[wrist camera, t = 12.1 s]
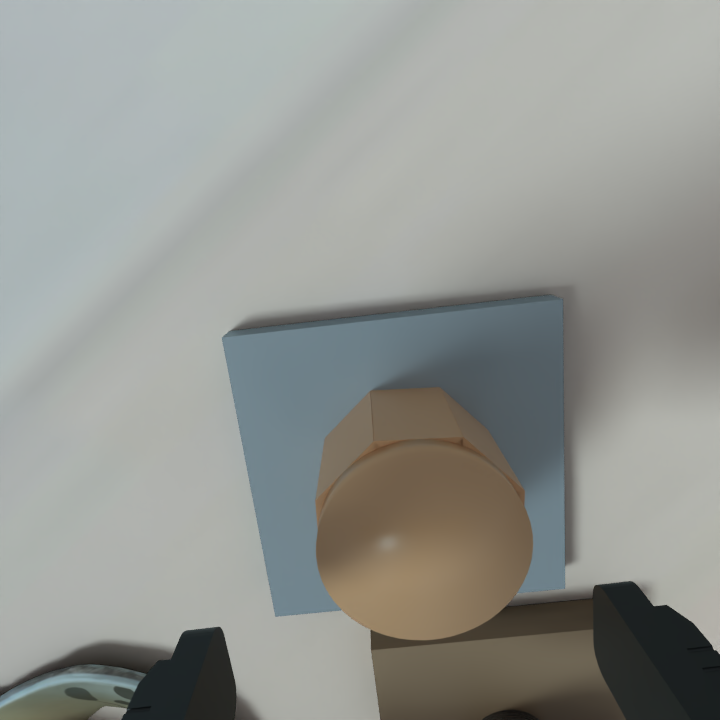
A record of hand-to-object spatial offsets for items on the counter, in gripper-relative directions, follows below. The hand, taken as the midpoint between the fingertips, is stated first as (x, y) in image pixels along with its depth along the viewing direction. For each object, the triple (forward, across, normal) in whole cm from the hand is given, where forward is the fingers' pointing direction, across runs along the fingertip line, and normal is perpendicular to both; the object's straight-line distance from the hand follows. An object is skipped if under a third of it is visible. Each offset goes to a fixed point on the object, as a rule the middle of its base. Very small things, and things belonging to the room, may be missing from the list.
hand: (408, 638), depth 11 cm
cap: (+7, -1, 0) cm, 7 cm away
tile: (+8, -1, 0) cm, 8 cm away
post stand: (+8, -4, +12) cm, 15 cm away
